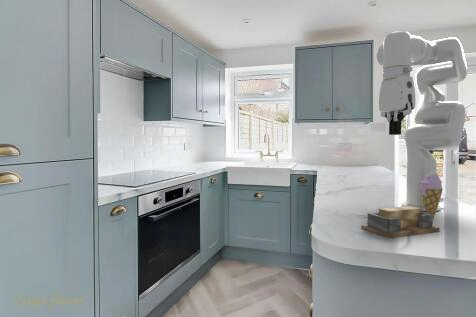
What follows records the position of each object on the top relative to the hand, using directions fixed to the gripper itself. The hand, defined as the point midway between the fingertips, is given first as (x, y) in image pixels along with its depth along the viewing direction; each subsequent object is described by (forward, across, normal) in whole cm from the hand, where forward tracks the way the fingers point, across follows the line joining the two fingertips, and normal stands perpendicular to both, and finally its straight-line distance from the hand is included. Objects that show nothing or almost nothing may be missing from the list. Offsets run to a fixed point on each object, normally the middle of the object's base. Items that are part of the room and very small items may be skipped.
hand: (395, 134), depth 95 cm
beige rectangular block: (+26, -8, +6) cm, 28 cm away
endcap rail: (+27, -8, +6) cm, 29 cm away
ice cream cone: (+27, -2, -13) cm, 30 cm away
